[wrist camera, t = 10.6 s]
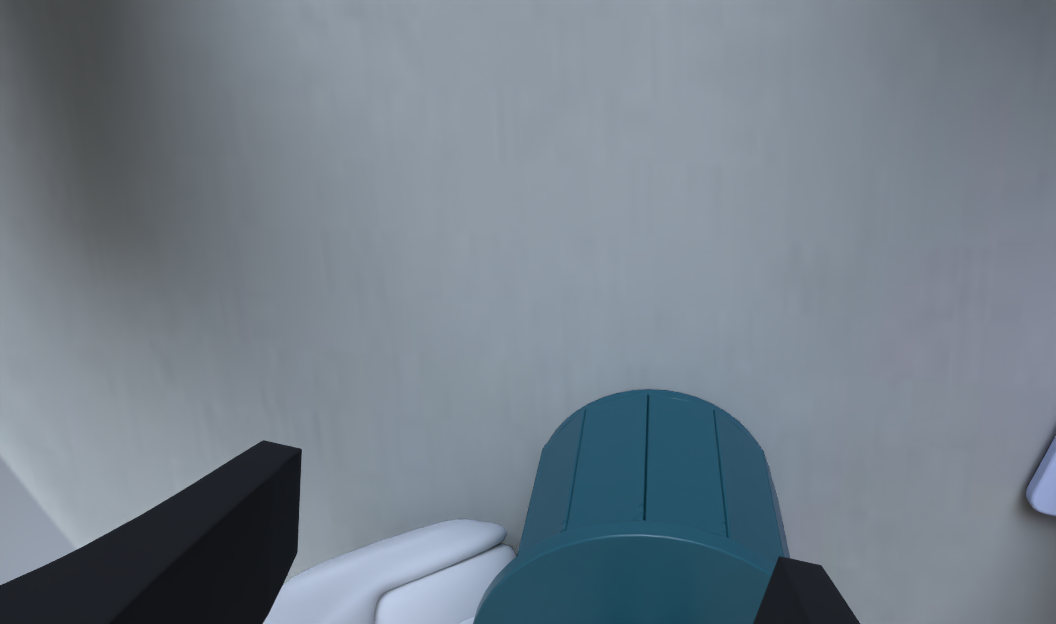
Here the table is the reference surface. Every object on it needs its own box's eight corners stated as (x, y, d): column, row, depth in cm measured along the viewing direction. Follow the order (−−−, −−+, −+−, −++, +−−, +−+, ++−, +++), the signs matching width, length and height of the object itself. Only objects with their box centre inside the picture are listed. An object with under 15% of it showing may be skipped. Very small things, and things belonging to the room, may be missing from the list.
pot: (803, 419, 22) (853, 587, 16) (734, 601, 25) (756, 797, 19) (560, 365, 23) (525, 510, 17) (521, 550, 25) (479, 727, 20)
